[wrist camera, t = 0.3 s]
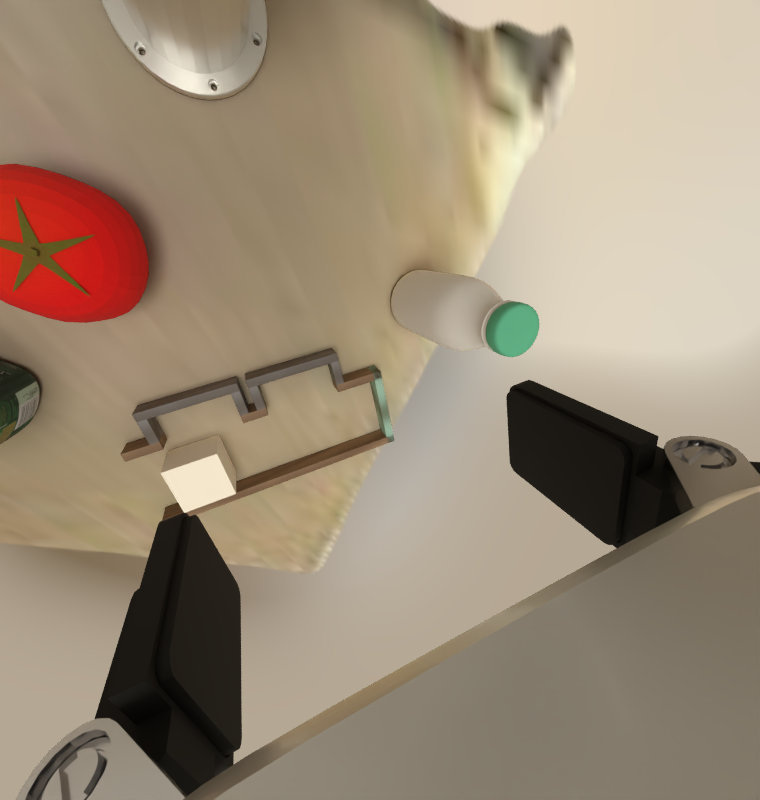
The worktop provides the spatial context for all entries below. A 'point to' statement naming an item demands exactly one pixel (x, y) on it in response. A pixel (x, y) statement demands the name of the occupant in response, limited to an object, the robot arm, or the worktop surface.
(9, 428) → the coffee jar
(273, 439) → the worktop surface
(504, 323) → the milk bottle
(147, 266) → the tomato
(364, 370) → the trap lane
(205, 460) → the block
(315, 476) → the worktop surface
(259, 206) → the worktop surface
